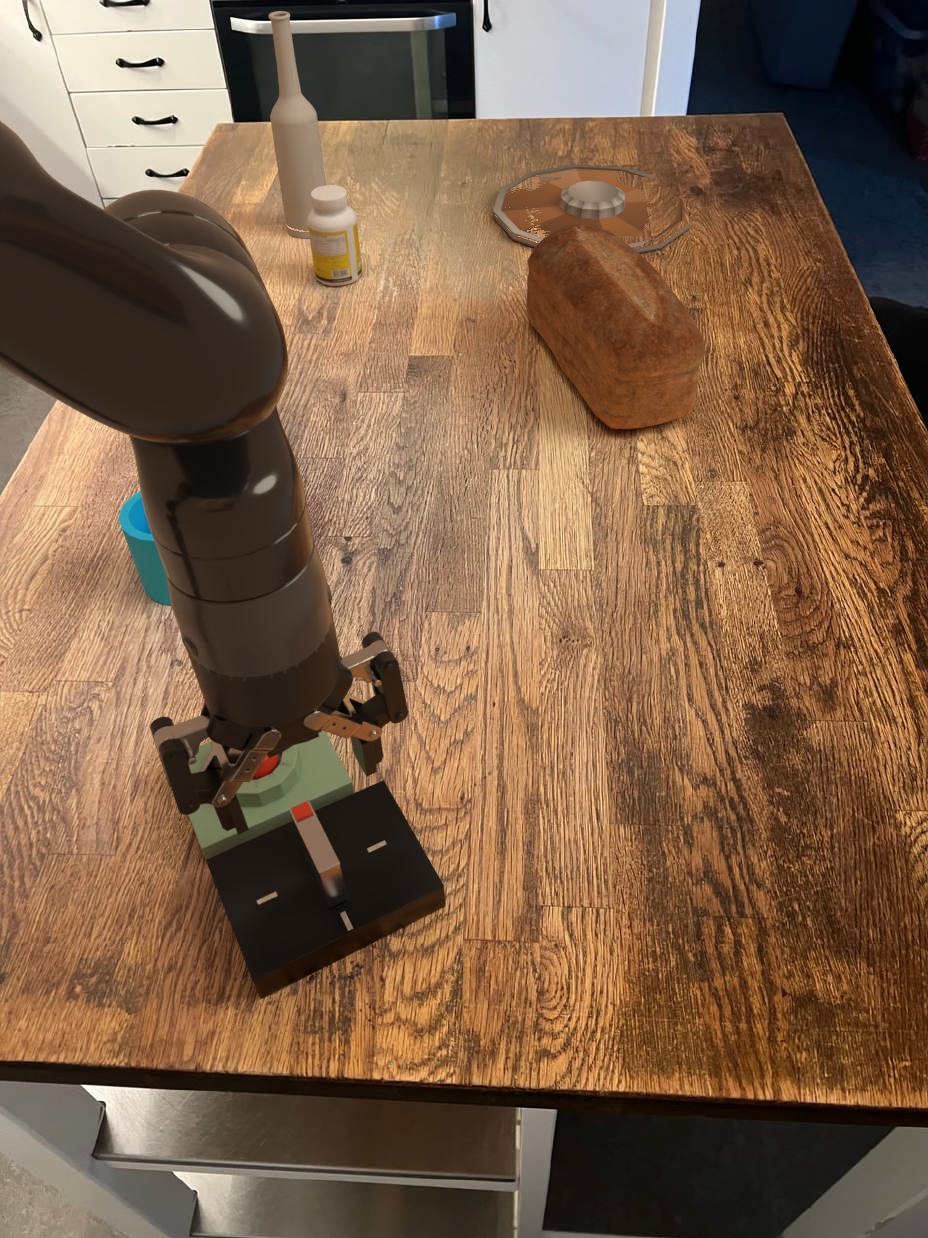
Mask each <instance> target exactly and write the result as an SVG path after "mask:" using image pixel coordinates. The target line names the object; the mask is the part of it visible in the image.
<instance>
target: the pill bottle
mask: <svg viewBox="0 0 928 1238" xmlns="http://www.w3.org/2000/svg"><path fill="white" fill-rule="evenodd" d="M348 201H349V199H348V193H347V189H346V188H345V187H343V186H341V185H337V184H326V185H325V186H321V187H318V188H315V189H314V190H313V191H312V192H311V202H312V206H313V207H314V209H312V210H311V212H310V213H309V215H308V219H307V221H308V229H309V236H310V238H309V242H310V250H311V256H312V262H313V263H312V264H313V271H314V275H315V278H316V280H317V281H318V282H319V283H321V284H323V285H325V286H331V287H340V286H341V287H342V286H347V285H350V284H352V283H354V282H357V280H359V279H360V277H361V275H362V273H363V270H362V269H363V268H362V258H361V257H362V256H361V249H360V238H359V230H358V229H359V228H358V221H357V214H356V213H355V211H354V209H353V208H352V207H350V206H349V205H348Z"/></svg>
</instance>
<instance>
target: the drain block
mask: <svg viewBox="0 0 928 1238" xmlns="http://www.w3.org/2000/svg"><path fill="white" fill-rule="evenodd" d="M211 749H212V740H210V741H209V742H206V743H203V744H200V745H199V751H198V753H197V754H196V755H195V757H196V760H197V761H196V762H195V763H194V764H193V765H189V767H190V770H191V773H196V772H199V771H200V769H201V767H202V765H203V764H204V762H205V760H206V759H207V757H208V755H209V753H210V752H211ZM354 793H355V787H354V782H353V780H352V778H351V776H350V775H349V773H348V771H347V769H346V767H345V765H344V764H343V762H342V760H341V758H340V757H339V754H338V752H337V751H336V749H335V747H334V745H333V743H332V741H331V739H330V737H329V736H328V734H327V732H326V731H323V730H322V731H321V732H320V733H319V737H317V738H315V739H312V740H310V741H308V742H304V743H300V744H296V745H293V746H292V747H290V748H288V749H287V750H285V751H284V752H282V753H280V754H279V759H278V763H277V765H276V767H275V768H274V769H273V770H272V771H271V772H270V773H269V774H268V775H266V776H264V777H261V778H258V779H252V780H251V781H250V782H243V783H242V785H241V786H240V788H239V790H238V791H237V793H236V796H237V798H238V800H239V803H240V806H241V809H242V812H243V814H244V817H245V820H246V823H247V826H248V828H249V830H248V831H246V832H244V833H242V834H239V835H238V833H237V831H236V828H234V829H231V830H229V831H226V830H225V829H223V828H222V826H221V823H220V821H219V818H218V816H217V814H216V811H215V809H214V806H213V805H211V804H201V805H200V807H199V809H198V810H197V811H196V812H194V813H192V814H189V815H187V816H188V819H189V821H190V823H191V826H192V829H193V831H194V834H195V837H196V839H197V842H198V844H199V848H200V850H201V852H202V854H203V856H204V858H205V861H206V860H207V859H209V858H211V857H213V856H215V855H218V854H220V853H222V852H224V851H227V850H229V849H231V848H233V847H236V846H238V845H240V844H242V843H244V842H247V841H249V840H251V839H253V838H256V837H258V836H260V835H262V834H264V833H267V832H269V831H271V830H273V829H276V828H278V827H280V826H282V825H285V824H287V823H289V822H291V821H292V820H291V816H290V812H289V809H290V808H292V807H295V806H297V805H299V804H301V803H304V802H306V801H308V800H309V801H310V803H311V805H312V807H313V809H314V811H316V810H318V809H320V808H322V807H325V806H327V805H329V804H331V803H334V802H336V801H338V800H340V799H342V798H345V797H347V796H349V795H351V794H354Z"/></svg>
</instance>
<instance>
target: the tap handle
mask: <svg viewBox="0 0 928 1238" xmlns="http://www.w3.org/2000/svg"><path fill="white" fill-rule="evenodd" d="M289 812H290V816H291V820H292V823H293V827H294V830H295V834H296V837H297V841H298V845H299V848H300V850H301V852H302V854H303V856H304V858H305V860H306V862H307V865H308V867H309V869H310V871H311V873H312V875H313V877H314V879H315V882H316V884H317V886H318V888H319V890H320V892H321V894H322V896H323V899H324V901H325V903H326V905H327V907H328V908H331V907H333V906H335V905H338V904H340V903H342V902H344V901H346V900H348V896H347V891H346V887H345V882H344V878H343V873H342V869H341V864H340V862H339V860H338V858H337V856H336V854H335V852H334V850H333V848H332V846H331V844H330V841H329V839H328V837H327V835H326V833H325V831H324V829H323V827H322V825H321V823H320V821H319V819H318V817H317V815H316V813H315V811H314V809H313V807H312V805H311V803H310V801H309V800H308V801H306V802H304V803H301V804H299V805H297V806H295V807H292V808H290V809H289Z"/></svg>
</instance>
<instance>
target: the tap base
mask: <svg viewBox="0 0 928 1238" xmlns="http://www.w3.org/2000/svg"><path fill="white" fill-rule="evenodd" d="M315 813H316V815H317V817H318V819H319V821H320V823H321V825H322V827H323V829H324V831H325V833H326V835H327V837H328V839H329V841H330V844H331V846H332V848H333V850H334V852H335V854H336V856H337V858H338V860H339V862H340V864H341V869H342V873H343V878H344V882H345V887H346V891H347V896H348V900H346V901H344V902H342V903H340V904H338V905H335V906H333V907H331V908H328V907H327V905H326V903H325V901H324V899H323V896H322V894H321V892H320V890H319V888H318V886H317V884H316V882H315V879H314V877H313V875H312V873H311V871H310V869H309V867H308V865H307V862H306V860H305V858H304V856H303V854H302V852H301V850H300V848H299V845H298V841H297V837H296V834H295V830H294V827H293V823H292V821H291V822H289V823H287V824H285V825H282V826H280V827H278V828H276V829H273V830H271V831H269V832H267V833H264V834H262V835H260V836H258V837H256V838H253V839H251V840H249V841H247V842H244V843H242V844H240V845H238V846H236V847H233V848H231V849H229V850H227V851H224V852H222V853H220V854H218V855H215V856H213V857H211V858H209V859H207V860H206V859H205V864H206V865H207V868H208V870H209V873H210V876H211V878H212V881H213V883H214V886H215V889H216V891H217V894H218V896H219V898H220V901H221V904H222V907H223V909H224V912H225V914H226V916H227V920H228V922H229V924H230V927H231V930H232V933H233V935H234V937H235V940H236V943H237V945H238V947H239V950H240V953H241V955H242V959H243V960H244V963H245V965H246V966H245V967H246V968H247V971H248V973H249V976H250V978H251V981H252V983H253V986H254V989H255V991H256V993H257V995H258V997H259V999H260V1000H263V999H265V998H267V997H269V996H271V995H272V994H275V993H276V992H278V991H281V990H282V989H284V988H286V987H289V986H291V985H293V984H295V983H297V982H299V981H300V980H302V979H304V978H306V977H308V976H310V975H312V974H314V973H316V972H318V971H320V970H322V969H324V968H326V967H328V966H330V965H332V964H334V963H337V962H338V961H341V960H342V959H344V958H346V957H348V956H350V955H352V954H354V953H356V952H358V951H360V950H362V949H364V948H366V947H368V946H369V945H372V944H374V943H376V942H378V941H379V940H381V939H383V938H385V937H388V936H390V935H391V934H393V933H395V932H398V931H399V930H401V929H403V928H406V927H407V926H410V925H411V924H413V923H415V922H417V921H419V920H421V919H423V918H425V917H427V916H429V915H431V914H433V913H435V912H437V911H439V910H441V909H443V908H445V907H446V905H447V904H446V894H445V893H446V892H445V891H446V890H445V885H444V883H443V881H442V879H441V878H440V875H439V874H438V873H437V870H436V869H435V867H434V866H433V864H432V862H431V860H430V858H429V857H428V854H427V853H426V851H425V849H424V847H423V846H422V844H421V842H420V841H419V839H418V837H417V836H416V834H415V832H414V830H413V829H412V827H411V824H410V823H409V822H408V820H407V818H406V817H405V814H404V812H403V811H402V809H401V807H400V805H399V804H398V802H397V800H396V799H395V797H394V795H393V794H392V792H391V789H390V788H389V787H388V784H387V783H386V781H385V780H384V779H383V780H380V781H377V782H376V783H373V784H371V785H370V786H367V787H365V788H363V789H360V790H358V791H355V792H354V794H351V795H349V796H347V797H345V798H342V799H340V800H338V801H336V802H334V803H331V804H329V805H327V806H325V807H322V808H320V809H318V810H316V811H315Z"/></svg>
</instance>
